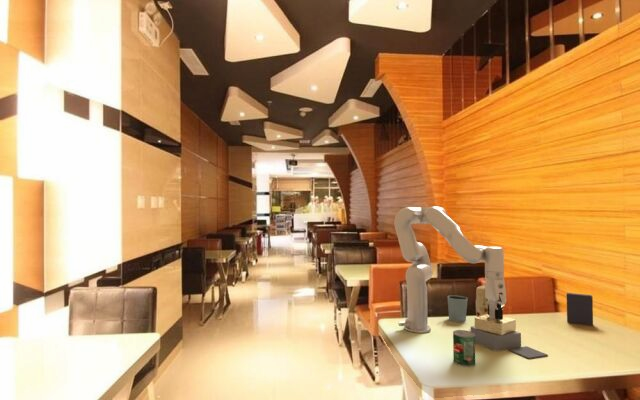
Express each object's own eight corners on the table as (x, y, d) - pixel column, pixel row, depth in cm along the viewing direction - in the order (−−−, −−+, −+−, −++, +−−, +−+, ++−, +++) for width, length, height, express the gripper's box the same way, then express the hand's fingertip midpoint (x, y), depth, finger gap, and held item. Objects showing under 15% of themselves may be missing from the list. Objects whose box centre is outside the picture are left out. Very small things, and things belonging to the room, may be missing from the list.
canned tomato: (480, 363, 140) (479, 334, 141) (466, 368, 136) (466, 337, 137) (461, 357, 147) (461, 328, 148) (448, 361, 143) (448, 332, 143)
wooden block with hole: (501, 335, 154) (501, 324, 155) (474, 328, 164) (474, 317, 164) (517, 329, 162) (517, 318, 163) (491, 322, 172) (490, 313, 172)
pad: (528, 359, 145) (528, 357, 145) (508, 350, 155) (508, 348, 155) (547, 356, 148) (547, 354, 148) (526, 347, 158) (526, 346, 158)
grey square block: (494, 351, 154) (494, 336, 154) (470, 340, 167) (470, 326, 167) (521, 347, 158) (520, 333, 158) (496, 337, 171) (495, 323, 172)
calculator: (592, 324, 192) (591, 294, 193) (593, 326, 188) (592, 296, 189) (567, 320, 198) (566, 292, 199) (567, 322, 194) (566, 293, 195)
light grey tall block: (499, 327, 160) (499, 301, 160) (489, 325, 162) (489, 300, 163) (500, 324, 163) (500, 299, 164) (490, 323, 166) (490, 298, 166)
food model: (491, 324, 192) (491, 284, 192) (499, 328, 185) (498, 287, 186) (473, 324, 191) (473, 285, 192) (479, 328, 184) (479, 287, 185)
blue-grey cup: (443, 318, 202) (443, 296, 203) (458, 316, 206) (457, 294, 207) (457, 323, 193) (457, 299, 193) (472, 321, 197) (471, 298, 197)
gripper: (513, 278, 155) (514, 322, 155) (492, 272, 172) (493, 311, 172) (496, 278, 155) (497, 322, 154) (476, 272, 172) (477, 311, 171)
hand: (495, 316), depth 163 cm, fingers closed on light grey tall block, 5 cm apart
